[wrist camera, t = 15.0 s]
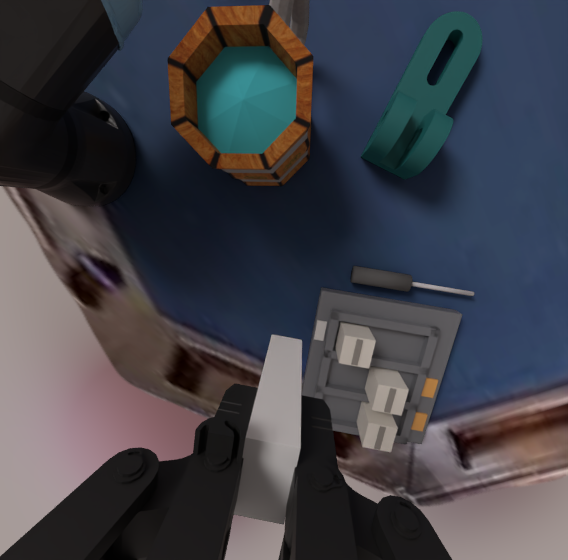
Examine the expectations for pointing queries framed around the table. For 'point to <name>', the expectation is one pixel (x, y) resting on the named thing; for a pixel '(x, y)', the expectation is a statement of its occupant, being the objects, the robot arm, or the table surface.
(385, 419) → the small white box
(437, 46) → the bracket
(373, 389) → the white grooved block
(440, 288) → the screwdriver
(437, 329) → the switch bank
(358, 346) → the small white box
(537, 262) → the table surface
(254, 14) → the mug
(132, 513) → the robot arm
